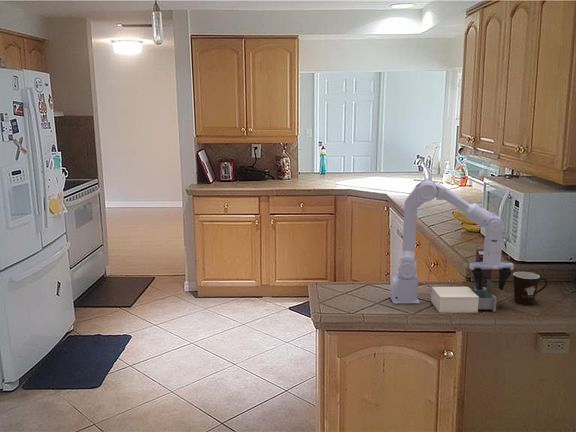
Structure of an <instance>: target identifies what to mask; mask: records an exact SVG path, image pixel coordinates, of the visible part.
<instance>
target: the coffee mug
mask: <svg viewBox="0 0 576 432" xmlns="http://www.w3.org/2000/svg"><path fill="white" fill-rule="evenodd" d="M512 273H513V274H512V276H513V296H514V297H513V298H514V299H513V300H514V303H516V304H518V305H522V306H533V305H534V304H535V299H536V296H537V294H538V293H540V292H541V291H543V290H544V289H545V288H546V287H547V286H548V279H546V278H544V277H541V276H540V275H539V274H536V273H535V272H529V271H528V272H527V271H515V272H512ZM543 280H544V282H545V284H544V285H543V287H541V288H540V289H538V286H539V282H540V281H543Z"/></svg>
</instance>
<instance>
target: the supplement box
mask: <svg viewBox="0 0 576 432" xmlns="http://www.w3.org/2000/svg"><path fill="white" fill-rule="evenodd" d="M483 253H484V248H482V249H481V248H480V249H479V248H476V251H475V263H476V262H483ZM481 270H482V271H481V272H483V276H482V281H481V290H483V287H485V288H487V279H489V280H491V278H492V269H481ZM473 278H474V279H473V280H474V282H473V290H478V289H477V285H476V280H475V277H473ZM491 281H492V280H491Z"/></svg>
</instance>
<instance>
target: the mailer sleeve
mask: <svg viewBox="0 0 576 432" xmlns="http://www.w3.org/2000/svg"><path fill="white" fill-rule="evenodd" d="M472 290H473V289H472V288H470V287H469V286H431V293H430V294H431V296H430V297H431V299H430V302H431V303H432V305H433V306H434V308H435V309H436V310H437V311H438V313H441V314H442V313H447V314H449V313H450V314H451V313H452V314H453V313H454V314H455V313H456V314H457V313H458V314H459V313H464V314H465V313H479V312H478V311H479V309H478V301H479V297H478V296H477V295H476V294H475V293H474V292H473V291H472Z"/></svg>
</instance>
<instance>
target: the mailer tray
mask: <svg viewBox="0 0 576 432" xmlns="http://www.w3.org/2000/svg"><path fill="white" fill-rule="evenodd" d="M494 287H495V285H494V282H493V281H492V280H489V279H487V288H485V287H483V290H474V289H471V290H472V291H473V292H474V293H475V294H476V295H477V296H478V297H479V301H478V310H490V311H492V312H497V296H496V295H494Z"/></svg>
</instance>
